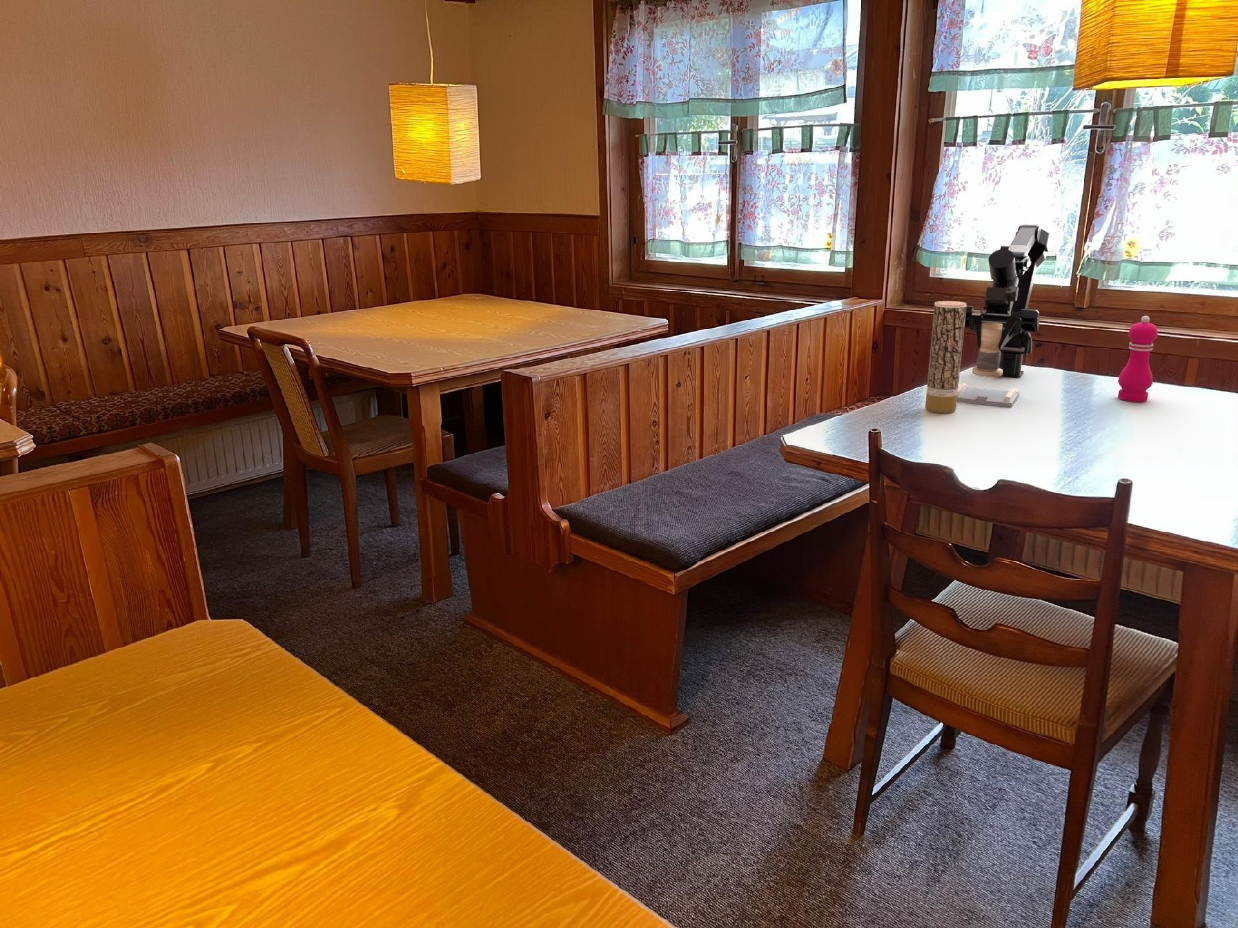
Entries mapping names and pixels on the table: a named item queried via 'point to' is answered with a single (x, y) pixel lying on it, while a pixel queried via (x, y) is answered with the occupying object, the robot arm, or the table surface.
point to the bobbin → (989, 351)
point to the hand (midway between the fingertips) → (989, 347)
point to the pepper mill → (1138, 363)
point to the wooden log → (945, 356)
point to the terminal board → (987, 396)
